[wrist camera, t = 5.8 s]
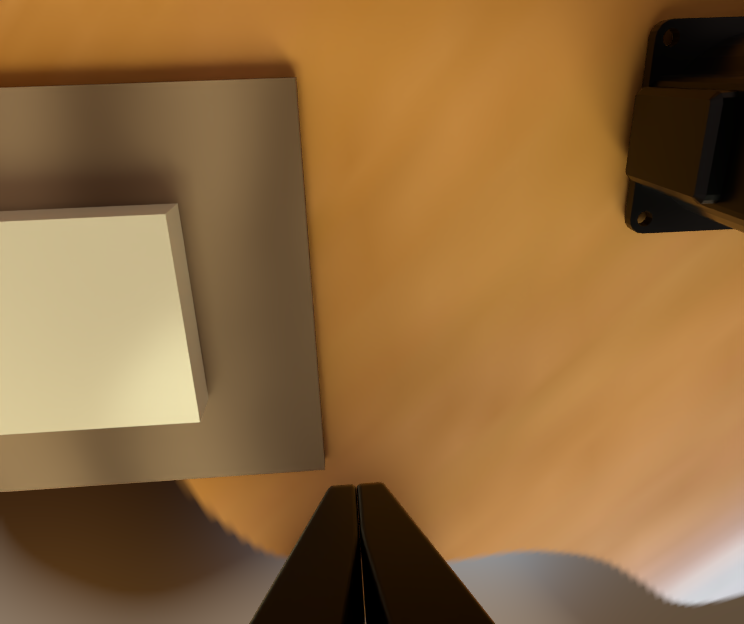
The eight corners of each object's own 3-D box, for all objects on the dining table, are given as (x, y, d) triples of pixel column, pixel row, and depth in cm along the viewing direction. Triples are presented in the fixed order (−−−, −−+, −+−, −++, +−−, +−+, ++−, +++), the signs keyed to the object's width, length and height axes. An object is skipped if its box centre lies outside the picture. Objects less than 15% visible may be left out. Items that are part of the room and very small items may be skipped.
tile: (165, 214, 17) (-125, 227, 16) (200, 422, 20) (-49, 438, 19) (178, 202, 18) (-87, 214, 18) (209, 396, 21) (-22, 410, 21)
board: (296, 77, 18) (295, 77, 17) (324, 460, 23) (324, 469, 23) (-187, 94, 17) (-204, 94, 17) (-43, 485, 22) (-52, 495, 22)
